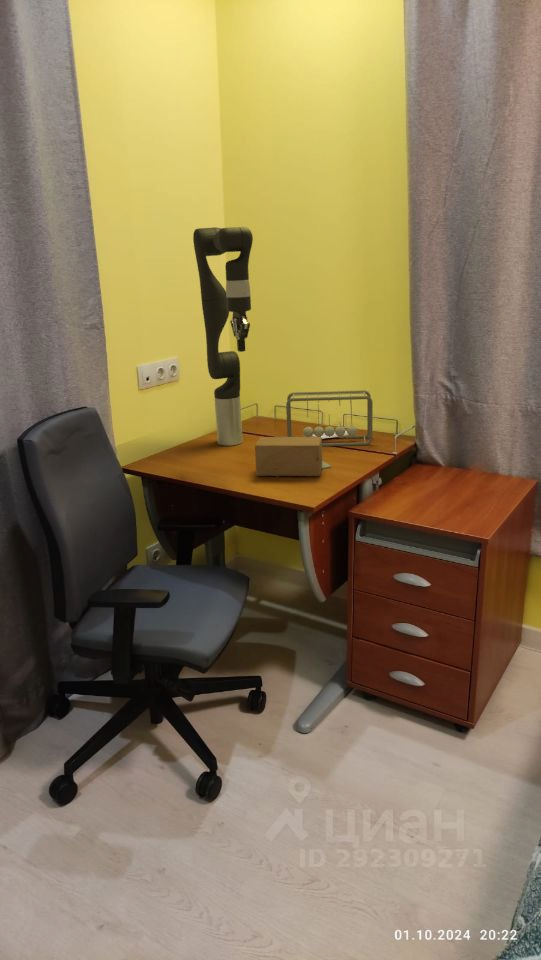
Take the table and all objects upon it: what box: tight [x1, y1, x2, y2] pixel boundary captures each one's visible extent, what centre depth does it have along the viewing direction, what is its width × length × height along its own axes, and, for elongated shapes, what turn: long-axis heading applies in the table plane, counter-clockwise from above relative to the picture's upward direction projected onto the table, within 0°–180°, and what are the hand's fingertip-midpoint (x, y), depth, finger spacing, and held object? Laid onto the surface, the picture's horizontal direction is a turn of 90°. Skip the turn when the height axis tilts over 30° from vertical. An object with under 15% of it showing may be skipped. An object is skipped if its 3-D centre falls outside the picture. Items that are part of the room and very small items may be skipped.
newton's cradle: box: [285, 389, 374, 447], centre depth 254 cm, size 30×10×18 cm, turn 87°
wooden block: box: [254, 436, 323, 477], centre depth 223 cm, size 10×10×20 cm
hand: (241, 351), depth 226 cm, fingers closed
